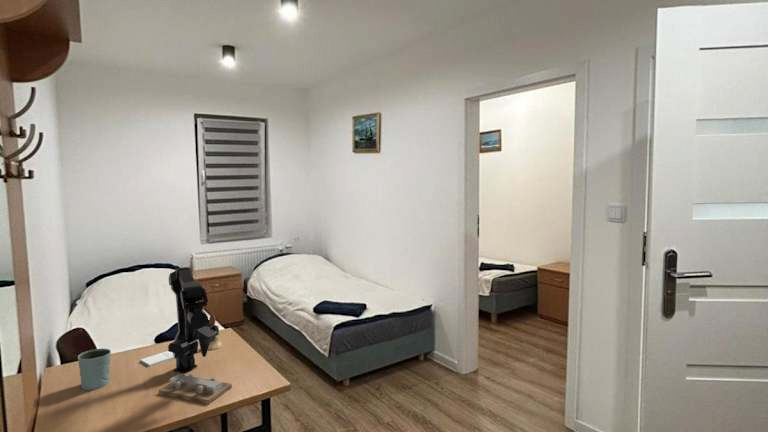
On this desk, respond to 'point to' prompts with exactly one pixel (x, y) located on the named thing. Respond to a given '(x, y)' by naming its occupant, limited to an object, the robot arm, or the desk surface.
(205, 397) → the peg board
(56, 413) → the desk surface
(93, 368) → the grey-blue cup
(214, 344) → the hand bell
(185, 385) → the grey i-beam piece
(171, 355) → the external hard drive
